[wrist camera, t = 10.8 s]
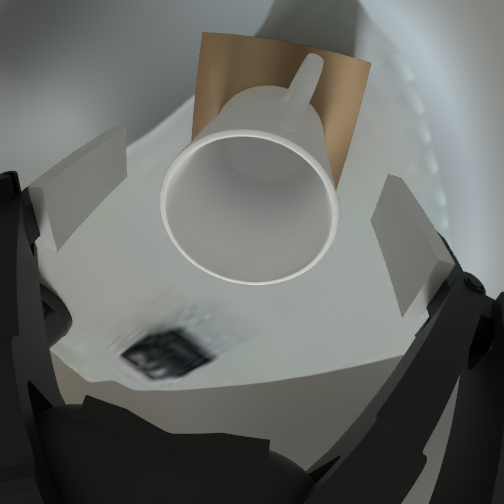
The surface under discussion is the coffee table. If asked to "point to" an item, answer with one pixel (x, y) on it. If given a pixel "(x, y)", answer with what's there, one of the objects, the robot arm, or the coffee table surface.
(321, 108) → the walnut box
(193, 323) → the coffee table surface
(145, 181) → the coffee table surface
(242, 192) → the mug
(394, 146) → the coffee table surface
